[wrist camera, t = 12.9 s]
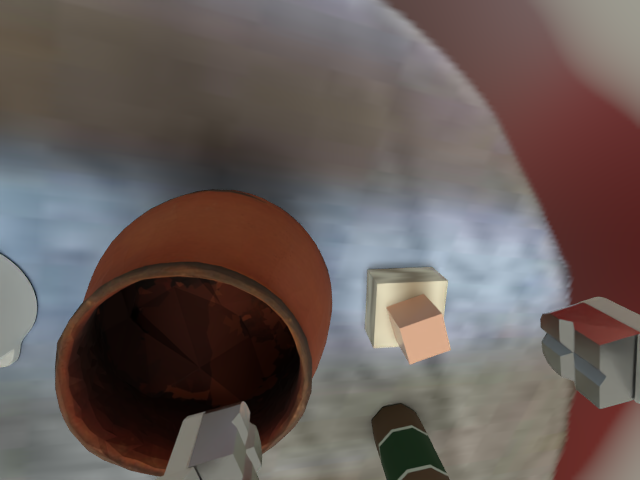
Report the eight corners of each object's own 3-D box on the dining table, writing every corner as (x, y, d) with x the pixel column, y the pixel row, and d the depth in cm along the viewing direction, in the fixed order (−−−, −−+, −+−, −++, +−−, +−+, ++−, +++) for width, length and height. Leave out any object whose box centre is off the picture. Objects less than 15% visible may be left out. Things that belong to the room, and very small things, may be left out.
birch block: (364, 327, 48) (373, 348, 44) (367, 268, 46) (377, 283, 41) (424, 324, 49) (440, 343, 45) (430, 266, 47) (448, 280, 42)
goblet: (176, 326, 45) (59, 538, 21) (143, 179, 39) (-71, 243, 15) (320, 307, 46) (362, 486, 23) (307, 164, 41) (346, 201, 17)
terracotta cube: (395, 339, 44) (409, 364, 39) (385, 307, 42) (399, 328, 37) (432, 326, 44) (450, 349, 39) (423, 293, 42) (442, 313, 37)
